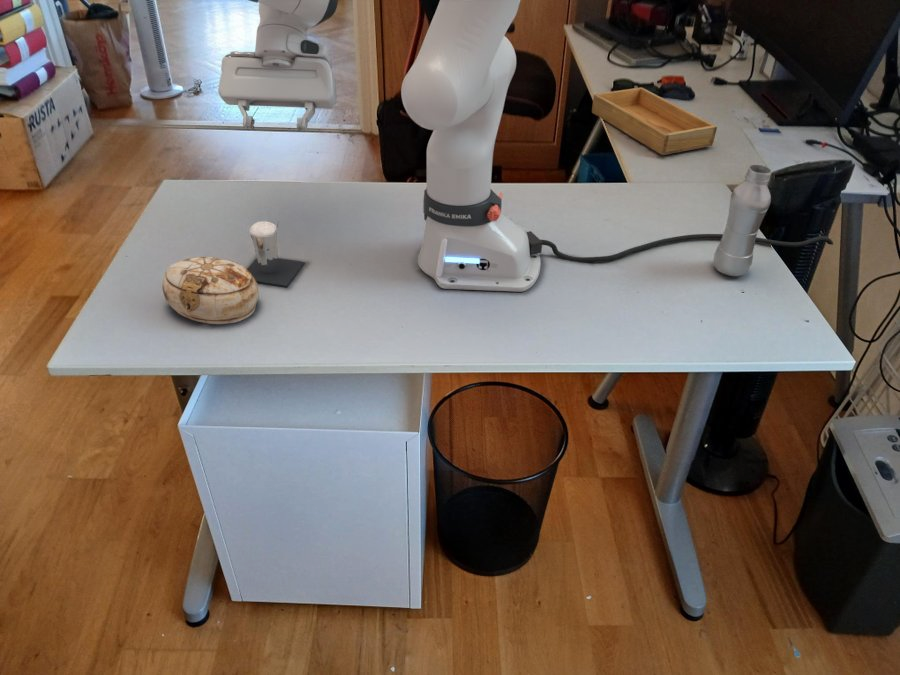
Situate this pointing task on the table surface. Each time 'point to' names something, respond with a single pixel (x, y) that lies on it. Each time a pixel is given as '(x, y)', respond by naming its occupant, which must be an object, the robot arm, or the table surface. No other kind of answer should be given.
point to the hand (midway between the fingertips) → (275, 128)
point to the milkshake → (265, 246)
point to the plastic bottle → (743, 222)
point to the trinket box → (210, 290)
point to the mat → (279, 278)
